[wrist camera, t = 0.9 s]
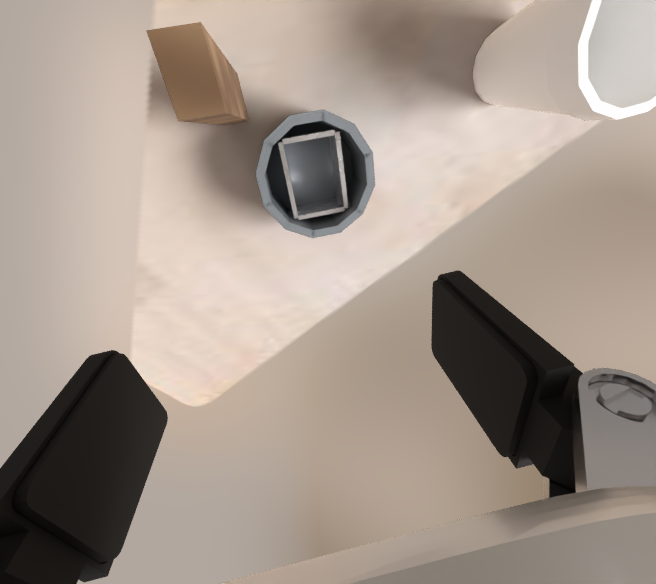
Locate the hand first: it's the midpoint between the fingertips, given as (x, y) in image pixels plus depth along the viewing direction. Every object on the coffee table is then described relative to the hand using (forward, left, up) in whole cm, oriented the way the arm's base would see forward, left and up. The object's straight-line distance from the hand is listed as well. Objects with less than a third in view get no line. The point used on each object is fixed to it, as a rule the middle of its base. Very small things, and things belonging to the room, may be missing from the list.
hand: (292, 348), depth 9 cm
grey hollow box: (-2, +3, -25) cm, 25 cm away
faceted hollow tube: (-2, +3, -25) cm, 25 cm away
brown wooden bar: (-9, -3, -25) cm, 26 cm away
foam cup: (-8, +23, -25) cm, 35 cm away
